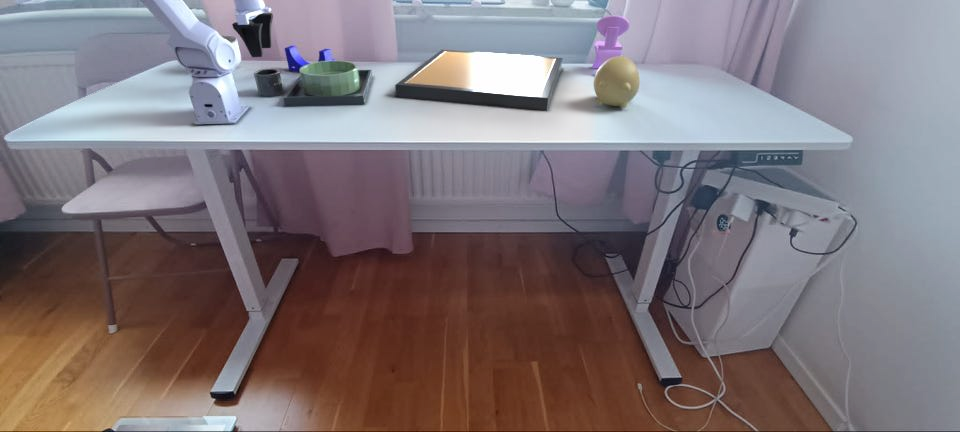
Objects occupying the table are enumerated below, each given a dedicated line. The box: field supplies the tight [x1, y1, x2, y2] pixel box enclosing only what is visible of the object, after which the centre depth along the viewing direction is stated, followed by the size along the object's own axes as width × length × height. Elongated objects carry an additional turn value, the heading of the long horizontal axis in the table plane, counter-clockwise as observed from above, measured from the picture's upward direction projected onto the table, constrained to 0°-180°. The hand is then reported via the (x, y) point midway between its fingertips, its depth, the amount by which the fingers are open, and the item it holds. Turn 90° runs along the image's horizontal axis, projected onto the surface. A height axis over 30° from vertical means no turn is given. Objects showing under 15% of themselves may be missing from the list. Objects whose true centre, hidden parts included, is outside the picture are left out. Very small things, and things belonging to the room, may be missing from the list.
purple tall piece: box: [591, 14, 630, 76], centre depth 123 cm, size 8×9×15 cm
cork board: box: [394, 49, 563, 112], centre depth 118 cm, size 36×3×35 cm
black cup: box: [253, 68, 285, 98], centre depth 108 cm, size 6×6×5 cm
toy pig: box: [593, 55, 641, 109], centre depth 103 cm, size 10×12×11 cm
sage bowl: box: [299, 59, 360, 96], centre depth 110 cm, size 13×13×6 cm
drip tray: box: [283, 69, 373, 107], centre depth 111 cm, size 21×17×2 cm
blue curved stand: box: [284, 45, 336, 73], centre depth 124 cm, size 12×4×6 cm, turn 73°
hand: (261, 52), depth 104 cm, fingers open, 7 cm apart
